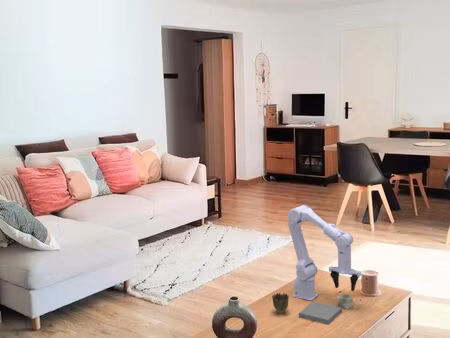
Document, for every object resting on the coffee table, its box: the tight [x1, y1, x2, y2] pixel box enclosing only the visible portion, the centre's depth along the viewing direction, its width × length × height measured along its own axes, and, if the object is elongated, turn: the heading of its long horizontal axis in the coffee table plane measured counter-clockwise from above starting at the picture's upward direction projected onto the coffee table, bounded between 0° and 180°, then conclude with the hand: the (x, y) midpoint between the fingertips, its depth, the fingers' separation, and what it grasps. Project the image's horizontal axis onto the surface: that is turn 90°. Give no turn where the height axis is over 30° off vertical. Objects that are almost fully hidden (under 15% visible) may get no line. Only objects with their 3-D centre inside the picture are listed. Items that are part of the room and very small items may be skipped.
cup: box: [271, 292, 290, 315], centre depth 233 cm, size 8×7×8 cm
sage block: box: [337, 293, 353, 311], centre depth 237 cm, size 5×5×5 cm
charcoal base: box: [298, 301, 343, 325], centre depth 230 cm, size 14×14×2 cm
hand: (344, 288), depth 236 cm, fingers open, 7 cm apart
